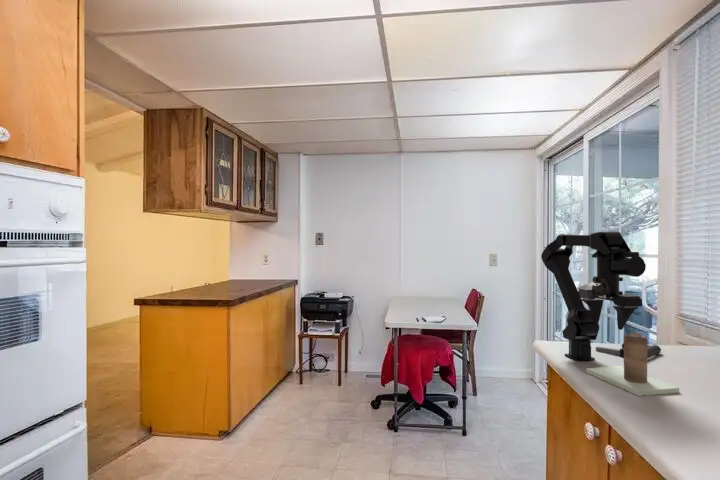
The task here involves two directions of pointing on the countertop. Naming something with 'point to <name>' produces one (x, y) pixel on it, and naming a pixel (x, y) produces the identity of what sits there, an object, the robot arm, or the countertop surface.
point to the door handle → (651, 351)
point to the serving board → (617, 378)
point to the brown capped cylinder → (635, 358)
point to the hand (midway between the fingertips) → (607, 326)
